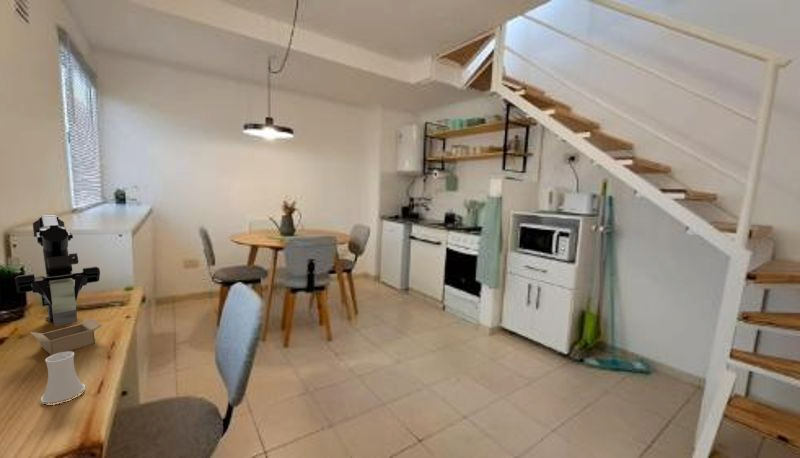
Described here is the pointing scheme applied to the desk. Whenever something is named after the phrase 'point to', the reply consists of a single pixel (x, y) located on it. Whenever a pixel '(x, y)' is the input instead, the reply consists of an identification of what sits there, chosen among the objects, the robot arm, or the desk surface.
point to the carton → (68, 337)
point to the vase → (61, 379)
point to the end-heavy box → (63, 301)
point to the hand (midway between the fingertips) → (63, 302)
